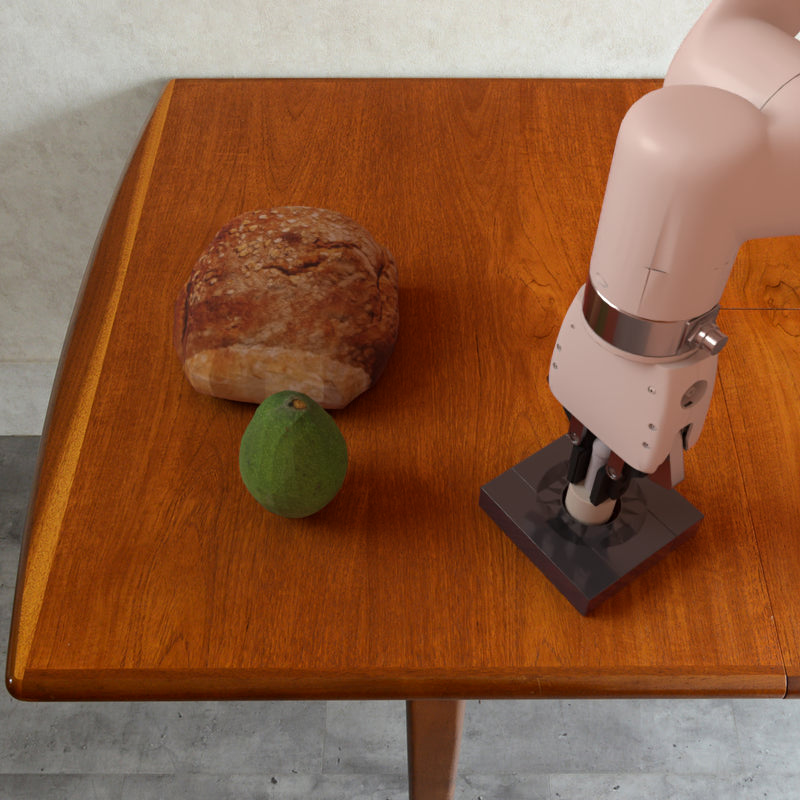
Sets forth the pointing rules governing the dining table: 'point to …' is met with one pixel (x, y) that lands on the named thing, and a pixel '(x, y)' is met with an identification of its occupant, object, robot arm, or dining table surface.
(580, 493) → the stopper
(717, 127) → the robot arm
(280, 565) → the dining table surface
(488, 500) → the sink plate
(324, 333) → the bread
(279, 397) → the fruit
